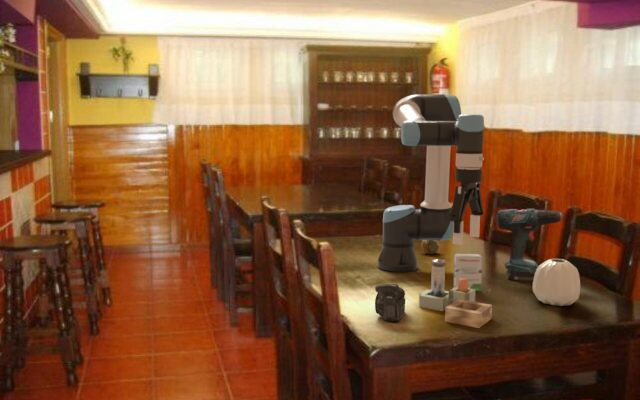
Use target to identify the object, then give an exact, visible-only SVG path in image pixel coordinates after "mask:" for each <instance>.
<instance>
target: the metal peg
mask: <svg viewBox="0 0 640 400" xmlns="http://www.w3.org/2000/svg"><path fill="white" fill-rule="evenodd" d="M430 283H431V284H430V290H431V296H436V297H442V298H443V297H444V291H445V287H446V286H445V285H446V284H445V283H446V259H443V258H432V259H431V280H430Z"/></svg>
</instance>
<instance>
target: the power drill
mask: <svg viewBox="0 0 640 400" xmlns="http://www.w3.org/2000/svg"><path fill="white" fill-rule="evenodd" d="M564 217H566V216H565V215H564V214H563V213H562V212H560V211H558V210H547V209H535V208H526V209H524V208H523V209H520V210H519V209H517V208H509V209H500V210H497V213H496V225H497V226H498V227H497V228H498V229H500V230H505V231H510V232H511V233H512V240H511V245H510V254H509V255H510V256H509V261H507V262H505V263H504V267H505V269H506V272H505V275H506V278H507V280H509V281H511V280H513V281H527V282H529V281H531V282H533V280H534V276H535V272H536V269H537V268H538V266H539V265H538V263H537V262H535V260H532V259H526V258H524V254H525V250H526V245H527V243H528V241H529V240H530V241H531V240H534V239H535V237H534V232H536V231H538V229H539V226H545V225H546V226H547V225H550V224H556V223H559V222H561V221H562V219H563V218H564Z"/></svg>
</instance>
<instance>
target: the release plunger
mask: <svg viewBox="0 0 640 400" xmlns="http://www.w3.org/2000/svg"><path fill="white" fill-rule="evenodd" d="M458 291H460V292H466V293H467V292H468V279H466V278H459V280H458Z"/></svg>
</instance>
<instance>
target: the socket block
mask: <svg viewBox="0 0 640 400" xmlns="http://www.w3.org/2000/svg"><path fill="white" fill-rule="evenodd" d="M476 292H477V291H476V289H470V288H468V292H467V293H466V292H460V291H458V286H456V287H453V288H451V289H449V290H444V297H443V298H442V297H436V296H431V289H425V290H424V291H421V292H420V293H418V296H419V297H418V298H419V299H418V306H419V308H422V309H423V308H424V309H428V310H429V309H430V310H434V311H441V312H443V311H444V312H445V307H447V306H449V305H450V304H452V303H453V302H455V301H457V300H458V299H461V300H467V301H472V302H476Z"/></svg>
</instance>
